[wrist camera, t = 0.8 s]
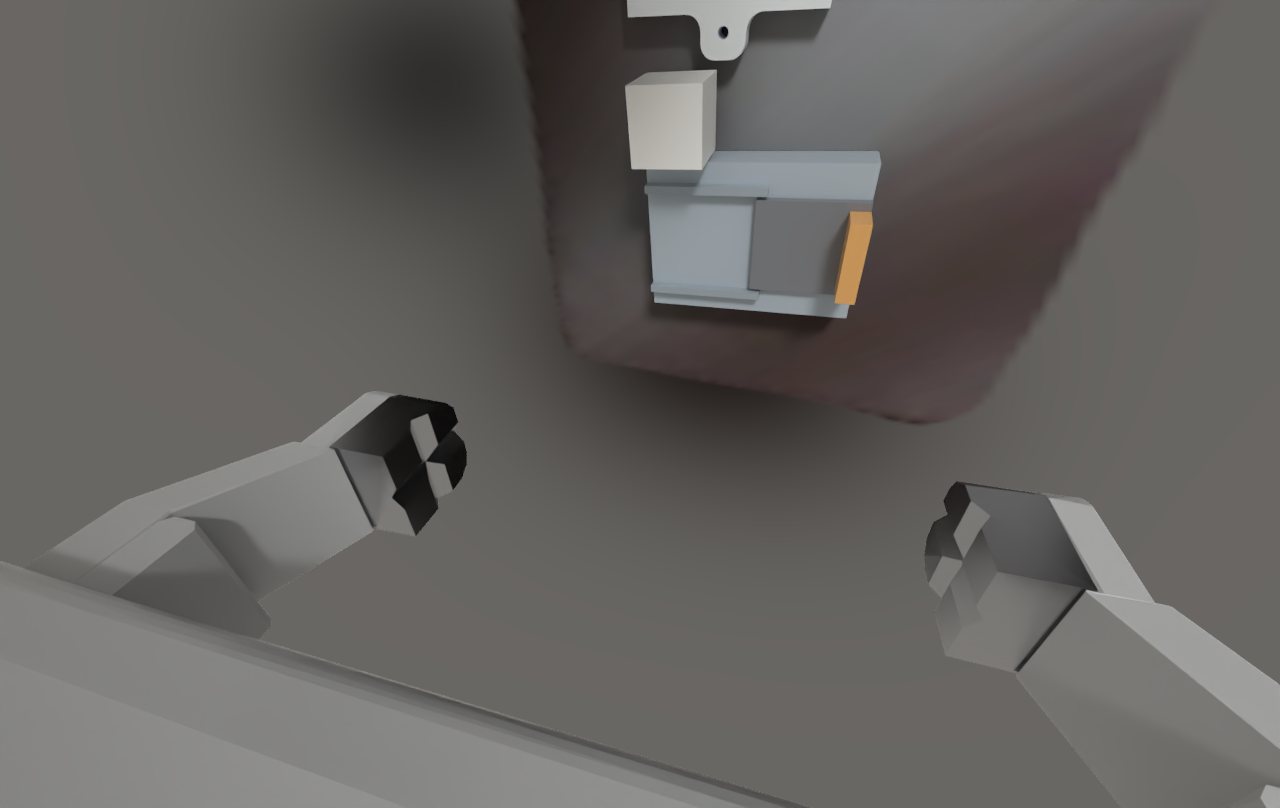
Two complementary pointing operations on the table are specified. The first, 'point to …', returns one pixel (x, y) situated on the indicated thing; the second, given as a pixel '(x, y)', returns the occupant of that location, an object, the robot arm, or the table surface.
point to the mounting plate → (720, 19)
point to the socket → (741, 223)
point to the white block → (672, 119)
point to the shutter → (810, 246)
